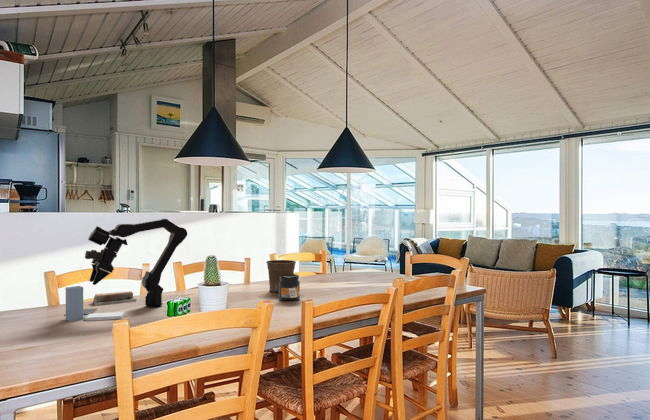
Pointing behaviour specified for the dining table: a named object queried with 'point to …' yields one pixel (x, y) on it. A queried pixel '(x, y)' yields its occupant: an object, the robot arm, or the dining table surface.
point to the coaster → (87, 311)
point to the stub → (74, 303)
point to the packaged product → (113, 298)
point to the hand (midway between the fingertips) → (92, 283)
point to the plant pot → (278, 271)
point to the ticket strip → (104, 316)
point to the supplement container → (289, 287)
